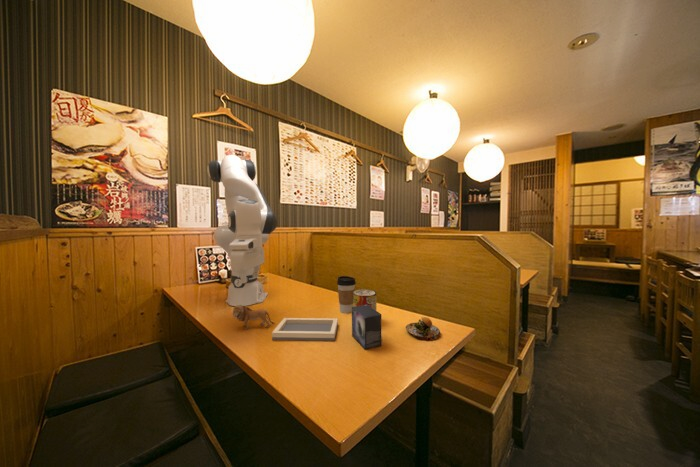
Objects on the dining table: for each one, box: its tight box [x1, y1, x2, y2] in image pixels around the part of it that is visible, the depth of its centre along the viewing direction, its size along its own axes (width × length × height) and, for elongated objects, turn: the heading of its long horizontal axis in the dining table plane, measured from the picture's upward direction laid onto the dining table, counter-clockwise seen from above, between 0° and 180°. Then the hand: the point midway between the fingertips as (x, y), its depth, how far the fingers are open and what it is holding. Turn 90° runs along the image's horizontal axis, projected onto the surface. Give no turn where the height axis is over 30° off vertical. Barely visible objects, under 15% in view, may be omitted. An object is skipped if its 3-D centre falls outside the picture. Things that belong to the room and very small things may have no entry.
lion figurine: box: [232, 305, 275, 330], centre depth 93 cm, size 15×5×9 cm, turn 107°
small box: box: [351, 304, 383, 351], centre depth 81 cm, size 11×6×10 cm, turn 23°
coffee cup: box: [336, 275, 357, 314], centre depth 109 cm, size 8×8×15 cm
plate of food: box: [405, 316, 441, 342], centre depth 87 cm, size 12×12×8 cm
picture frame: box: [271, 317, 339, 342], centre depth 88 cm, size 13×21×2 cm, turn 88°
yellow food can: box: [353, 289, 377, 311], centre depth 96 cm, size 9×9×12 cm
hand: (250, 279), depth 91 cm, fingers open, 8 cm apart
